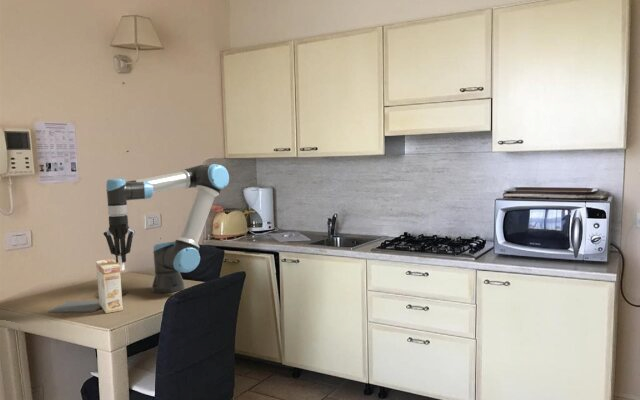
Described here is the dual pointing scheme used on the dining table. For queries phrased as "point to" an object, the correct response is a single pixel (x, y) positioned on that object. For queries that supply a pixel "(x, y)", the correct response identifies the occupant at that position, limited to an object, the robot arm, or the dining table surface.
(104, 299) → the coffeecake box
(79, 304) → the mat
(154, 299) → the dining table surface
